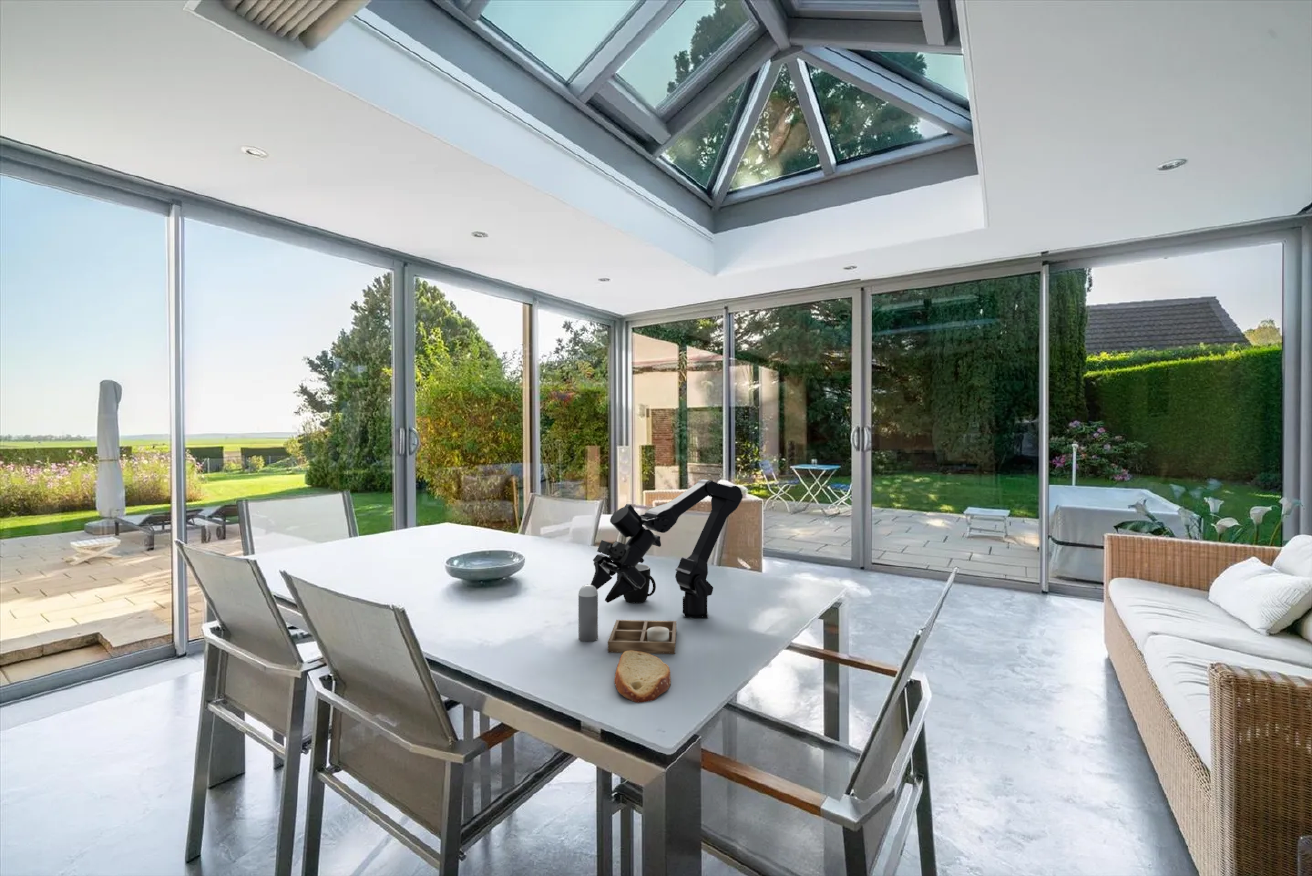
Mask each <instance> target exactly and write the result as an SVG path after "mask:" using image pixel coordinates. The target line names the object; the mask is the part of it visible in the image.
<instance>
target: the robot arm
mask: <svg viewBox="0 0 1312 876" xmlns="http://www.w3.org/2000/svg"><path fill="white" fill-rule="evenodd" d="M742 493H743V491H742V489H741V488H740V487H739V486H737V485H732V484H724V483H723V484H722V483H718V482H716V481H713V480H710V479H700V480H697V482H696V483H695V484H694V485H692V486H691V487H690V488H688V489H687V490H685V491H684V492H682V493H680V494H679V495H677V497H675V498H673V499H672V500H671V501H669V502H667V503H664V504H660V505H657V506H656V505H655V506H654V507H652V508H650V509H648V510H646V512H645V513H642V514H639V513H638V512H637V511H636V510H635V508H634V506H632V504H625V506H622V507H621V508H619V509H617V511H614V512H613V513H612V515H611V516H610V518H609V522H610V524H611V525H613V527H615V529H616V530H617V531H618V532H619V533H620V534H621V536H623V538H629V539H628V540H627V541H626V543H622V542H619V541H615V542H614V543H611V542H609V541H606V540H604V539H601V540H600V542H599V545H598V548H597V551H596V552H598V553H599V554H596V555H595V556H594V557H593V559H592V561H593V566H594V570H595V572H594V575H593V577H592V580H591V583H590V585H593V586H594V587H595V588H596V589H597V590H599V589H600V588H601V587H603V586H604V585H606V584H607V583H609V581H611V580H612V579H613V577H612V576H615V575H616V581H615V583H614V584H613V586H612V588H611V589H610V590H609V592H608V593H607V595H606V596H605V598H604V601H605V602H606V603H610V602H612V601H614V600H617V599H618V598H620V597H622V596H623V595H624V594H626V593H628V592H631V591H633V590H637V588H636V587H638V588H640V589H641V588H642V587H643V586H644V584H645V577H644V576H643V575H642V574H641V573H640V572H639V570H638V569H637V568H636V565H637V564H639V563H640V564H643V563H644V562H645V559H644V556H645V555H646V554H647V552H649V549H651V547H652V546H655V547H659V548H660V547H661V546H662V542H661V536H659V535H655V534H654V533H653V531H654V532H657V533H662V534H665V533H667V532H669V531H670V530H671V529H672V528H673V527H674V525H676V524H677V522H678V520H679V518H680V517H681V515H683V514H684V513H686V512H687V511H689V510H690V509H692V508H693V507H694V506H695V505H697V504H698V503H700V502H701V501H703V500H704V499H705V498H707V497H711V498H710V503H711V504H710V505H711V510H710V513H709V515H708V517H707V520H706V522H705V523H704V526H703V528H702V531H701V533H700V534H699V536H698V539H697V541H696V544H695V545H694V548H693V550H692V552H691V554H690V555H689V556H688V557H687V558H686V557H681V559H680V561H679V563H678V565H677V568H675V571H676V573H675V581H676V582H677V584H678V587H679V590H680V591H682V592H684V596H682V614H684V615H683V617H684V618H687V619H689V618H690V619H691V618H693V619H708V617H709V613H708V597H709V596H712V594H713V592H714V587H713V585H711V583H710V582H709V581H708V580H707V579H708V578H707V577H708V574H709V571H708V561H709V559H710V557H711V554H712V552H713V550H714V548H715V546H716V544H717V542H718V538H719V536H720V535H721V532H722V530H723V528H724V525H725V523H726V521H727V519H728V517H729V516H731V514H732V513H733V512H735V511H736V510H737V509H738V507H739V506H740V504H741V503H742V501H743V498H744V497H743V496H744V495H743V494H742Z"/></svg>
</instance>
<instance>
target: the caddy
mask: <svg viewBox="0 0 1312 876" xmlns="http://www.w3.org/2000/svg"><path fill="white" fill-rule="evenodd" d="M676 643H677V620H649V619H648V620H646V619H645V620H643V619H642V620H641V619H616V620H615V623H614V625H613V627H612V631H611V633H610V636H609V638H608V640H607V653H613V654H615V653H617V654H618V653H620V654H623V653H624V652H625V651H630V650H632V651H639V652H645V653H648V654H655V655H657V654H660V655H661V654H662V655H663V654H664V655H665V654H666V655H667V654H668V655H675V654H676Z"/></svg>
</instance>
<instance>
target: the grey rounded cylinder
mask: <svg viewBox="0 0 1312 876" xmlns="http://www.w3.org/2000/svg"><path fill="white" fill-rule="evenodd" d="M577 596H578V597H577V598H578V605H577V606H578V613H577V615H578V618H577V619H578V623H577V624H578V626H577V627H578V629H577V630H578V631H577V632H578V641H580V642H583V643H591V642H595V641H597V640H598V639H599V624H598V623H599V615H598V614H599V592H598V589H596V588H595V587H594V586H593V585H591V583H587V584H584V585H582V586H581V587H580V588H579V591H578V594H577Z"/></svg>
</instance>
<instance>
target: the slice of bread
mask: <svg viewBox="0 0 1312 876" xmlns="http://www.w3.org/2000/svg"><path fill="white" fill-rule="evenodd" d="M614 673H615V674H614V681H613V682H614V685H615V687H616V690H617V692H618V693H619V694H620V695H621V696H623V697H624V699H626V700H629V701H632V702H634V703H635V704H636V703H637V704H638V703H646V702H652V701H656V700H657V698H658V697H660V696H661V695H662V694H664V693H666V692H667V691H668V690H669V689H670V687H671V683H672V681H671V680H672V678H671V670H670V667H669V665H668V664H667V663H664V662H663V661H662V659H660V657H658V656H655V655H653V654H652V653H645V652H639V651H632V650H630V651H625V652H624V653H621V655H620V657H619V660H618V664H617V667H616V670H615V672H614Z"/></svg>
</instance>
